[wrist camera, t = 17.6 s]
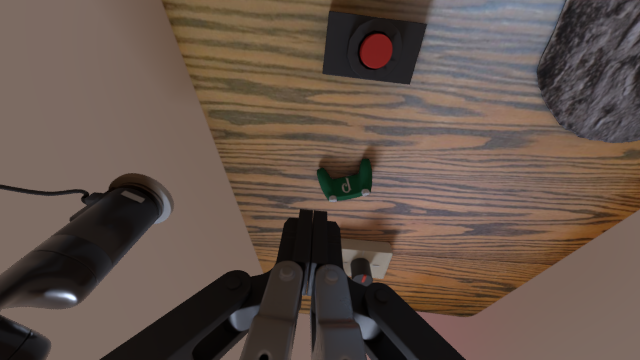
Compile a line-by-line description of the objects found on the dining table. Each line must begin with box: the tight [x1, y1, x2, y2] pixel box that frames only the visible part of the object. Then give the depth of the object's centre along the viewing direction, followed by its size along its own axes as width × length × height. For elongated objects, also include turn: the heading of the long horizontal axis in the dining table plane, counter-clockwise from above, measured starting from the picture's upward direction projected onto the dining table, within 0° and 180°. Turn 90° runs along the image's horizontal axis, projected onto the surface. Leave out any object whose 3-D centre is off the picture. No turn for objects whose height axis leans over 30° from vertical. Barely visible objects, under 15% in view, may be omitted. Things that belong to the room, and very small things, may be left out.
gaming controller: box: [317, 159, 372, 202], centre depth 42 cm, size 9×4×6 cm
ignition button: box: [360, 34, 392, 69], centre depth 29 cm, size 4×4×2 cm
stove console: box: [341, 238, 393, 279], centre depth 52 cm, size 12×8×3 cm
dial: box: [350, 258, 373, 286], centre depth 49 cm, size 4×4×4 cm
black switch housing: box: [323, 11, 427, 84], centre depth 31 cm, size 12×7×4 cm, turn 84°
